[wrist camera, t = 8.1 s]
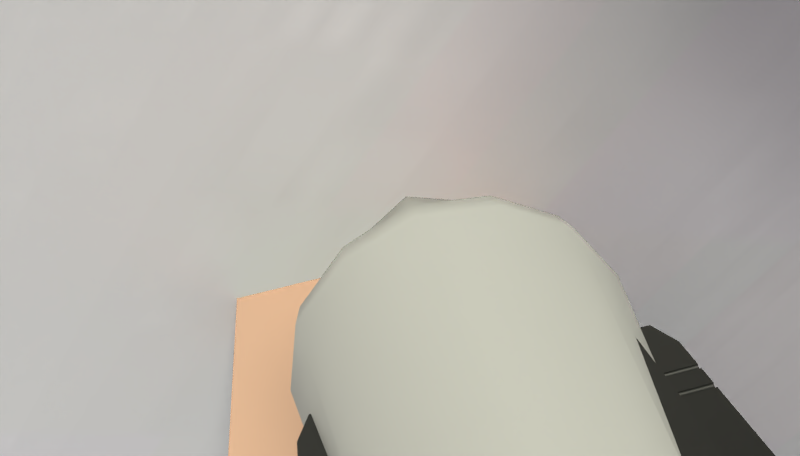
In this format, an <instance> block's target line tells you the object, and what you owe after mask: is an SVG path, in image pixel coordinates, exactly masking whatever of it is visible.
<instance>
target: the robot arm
mask: <svg viewBox="0 0 800 456" xmlns="http://www.w3.org/2000/svg"><path fill="white" fill-rule="evenodd" d="M641 331H642V333H643V335H644V337H645V340H646V342H647V344H648V347H649V349H650V351H651V354H652V356H653V358H654V360H653V359H652V358H651V356H650V355H649V354H648V352H647V351H646V350H645V349H644V347H643V346H642V345H641V343H640V342H639V341H638V339H637V338H636V339H637V342H638V344H639V347H640V350H641V352H642V355H643V357H644V360H645V363H646V365H647V368H648V370H649V373H650V376H651V378H652V381H653V383H654V386H655V389H656V391H657V394H658V397H659V399H660V402H661V404H662V407H663V410H664V412H665V415H666V417H667V420H668V423H669V425H670V428H671V430H672V433H673V436H674V438H675V441H676V444H677V446H678V449H679V451H680V454H681V456H775V455H774V454H773V453H772V451H771V450H770V449H769V448H768V447H767V445H766V444H765V443H764V442H763V441H762V440H761V438H760V437H759V436H758V435H757V434H756V432H755V431H754V430H753V429H752V428H751V427H750V425H749V424H748V423H747V422H746V421H745V419H744V418H743V417H742V416H741V415H740V413H739V412H738V411H737V410H736V409H735V408H734V406H733V405H732V404H731V403H730V402H729V400H728V399H727V398H726V397H725V396H724V395H723V393H722V392H721V391H720V390H719V389H718V387H716V388H715V387H714V384H713V382H712V380H711V379H710V378H709V377H708V376H707V374H706V373H705V372H704V371H703V370H702V368H701V369H699V367H698V364H697V363H696V361H695V360H694V359H693V358H692V357H691V355H690V354H689V353H688V352H687V351H686V350H685V348H684V347H683V346H682V345H681V344H680V342H679V341H677V340H675V339H673V338H672V337H670V336H668V335H666V334H664V333H663V332H661V331H659V330H657V329H655V328H654V327H652V326H650V325H649V326H645V327H641ZM654 361H655V362H654ZM297 454H298V456H328V455H327V453H326V450H325V448H324V445H323V443H322V440H321V438H320V435H319V433H318V430H317V428H316V425H315V423H314V420H313V418H312V415H311V414H309V415H308V417H307V420H306V422H305V424H304V426H303V429H302V431H301V433H300V436H299V438H298V440H297Z"/></svg>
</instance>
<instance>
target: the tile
mask: <svg viewBox="0 0 800 456" xmlns="http://www.w3.org/2000/svg"><path fill="white" fill-rule="evenodd" d="M319 280H320V278H319V279H315V280H311V281H307V282H302V283H298V284H294V285H290V286H286V287H282V288H278V289H274V290H270V291H266V292H262V293H257V294H253V295H249V296H245V297H241V298H237V310H236V328H235V345H234V363H233V381H232V399H231V416H230V434H229V452H228V456H298V454H297V440H298V438H299V436H300V433H301V431H302V429H303V423H302V421H301V418H300V415H299V412H298V410H297V407H296V404H295V402H294V399H293V396H292V393H291V391H290V390H291V377H292V364H293V351H294V338H295V325H296V320H297V316H298V312H299V308H300V306H301V304H302V303H303V302H304V300H305V299H306V297H307V296H308V295H309V293H310V292H311V291H312V289H313V288H314V286H315V285H316V284H317V282H318V281H319Z"/></svg>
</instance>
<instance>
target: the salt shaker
mask: <svg viewBox="0 0 800 456" xmlns="http://www.w3.org/2000/svg"><path fill="white" fill-rule="evenodd" d="M636 338H637V339H638V341H639V342H640V343H641V345H642V346H643V347H644V349H645V350H646V351H647V352H648V354H649V355H650V356H651V358H652V359H653V360H654V358H653V356H652V354H651V351H650V349H649V347H648V344H647V342H646V340H645V337H644V335H643V333H642V331H641V328H640V326H639V324H638V321H637V319H636V317H635V314H634V312H633V310H632V307H631V305H630V303H629V300H628V298H627V296H626V294H625V291H624V289H623V287H622V284H621V282H620V280H619V277H618V275H617V274H616V273H615V272H614V271H613V270H612V269H611V268H610V267H609V266H608V265H607V264H606V262H605V261H604V260H603V259H602V258H601V257H600V256H599V255H598V254H597V253H596V252H595V251H594V250H593V249H592V247H591V246H590V245H589V244H588V243H587V242H586V241H585V240H584V239H583V238H582V237H581V236H580V235H579V233H578V232H577V231H576V230H575V229H574V228H573V227H572V226H570V225H569V224H568V223H566V222H565V221H564V220H562V219H561V218H560V217H558V216H556V215H553V214H549V213H546V212H543V211H539V210H536V209H533V208H529V207H526V206H523V205H519V204H516V203H513V202H509V201H506V200H503V199H499V198H496V197H493V196H483V197H475V198H467V199H458V200H444V199H431V198H417V197H405V198H404V199H403V200H402V201H401V202H400V203H398V204H397V205H396V206H395V207H394V208H393V209H392V210H391V211H390V212H389V213H388V214H387V215H385V216H384V217H383V218H382V219H381V220H380V221H379V222H378V223H377V224H376V225H375V226H373V227H372V228H371V229H370V230H368V231H367V232H365V233H364V234H362V235H361V236H359V237H358V238H356V239H355V240H353V241H352V242H350V243H349V244H347V245H346V246H344V247H343V248H342V249H341V251H340V252H339V254H338V255H337V256H336V258H335V259H334V260H333V262H332V263H331V265H330V266H329V267H328V269H327V270H326V271H325V273H324V274H323V275H322V277H321V278H320V280H319V281H318V282H317V284H316V285H315V286H314V288H313V289H312V291H311V292H310V293H309V295H308V296H307V297H306V299H305V300H304V302H303V303H302V304H301V306H300V308H299V312H298V316H297V320H296V325H295V338H294V351H293V364H292V377H291V390H290V391H291V393H292V396H293V399H294V402H295V404H296V407H297V410H298V412H299V415H300V418H301V421H302V423H303V426H304V424H305V422H306V420H307V417H308V415H309V414H311V415H312V418H313V420H314V423H315V425H316V428H317V430H318V433H319V435H320V438H321V440H322V443H323V445H324V448H325V450H326V453H327V455H328V456H681V454H680V451H679V449H678V446H677V444H676V441H675V438H674V436H673V433H672V430H671V428H670V425H669V423H668V420H667V417H666V415H665V412H664V410H663V407H662V404H661V402H660V399H659V397H658V394H657V391H656V389H655V386H654V383H653V381H652V378H651V376H650V373H649V370H648V368H647V365H646V363H645V360H644V357H643V355H642V352H641V350H640V347H639V344H638V342H637V339H636ZM654 362H655V361H654Z"/></svg>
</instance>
